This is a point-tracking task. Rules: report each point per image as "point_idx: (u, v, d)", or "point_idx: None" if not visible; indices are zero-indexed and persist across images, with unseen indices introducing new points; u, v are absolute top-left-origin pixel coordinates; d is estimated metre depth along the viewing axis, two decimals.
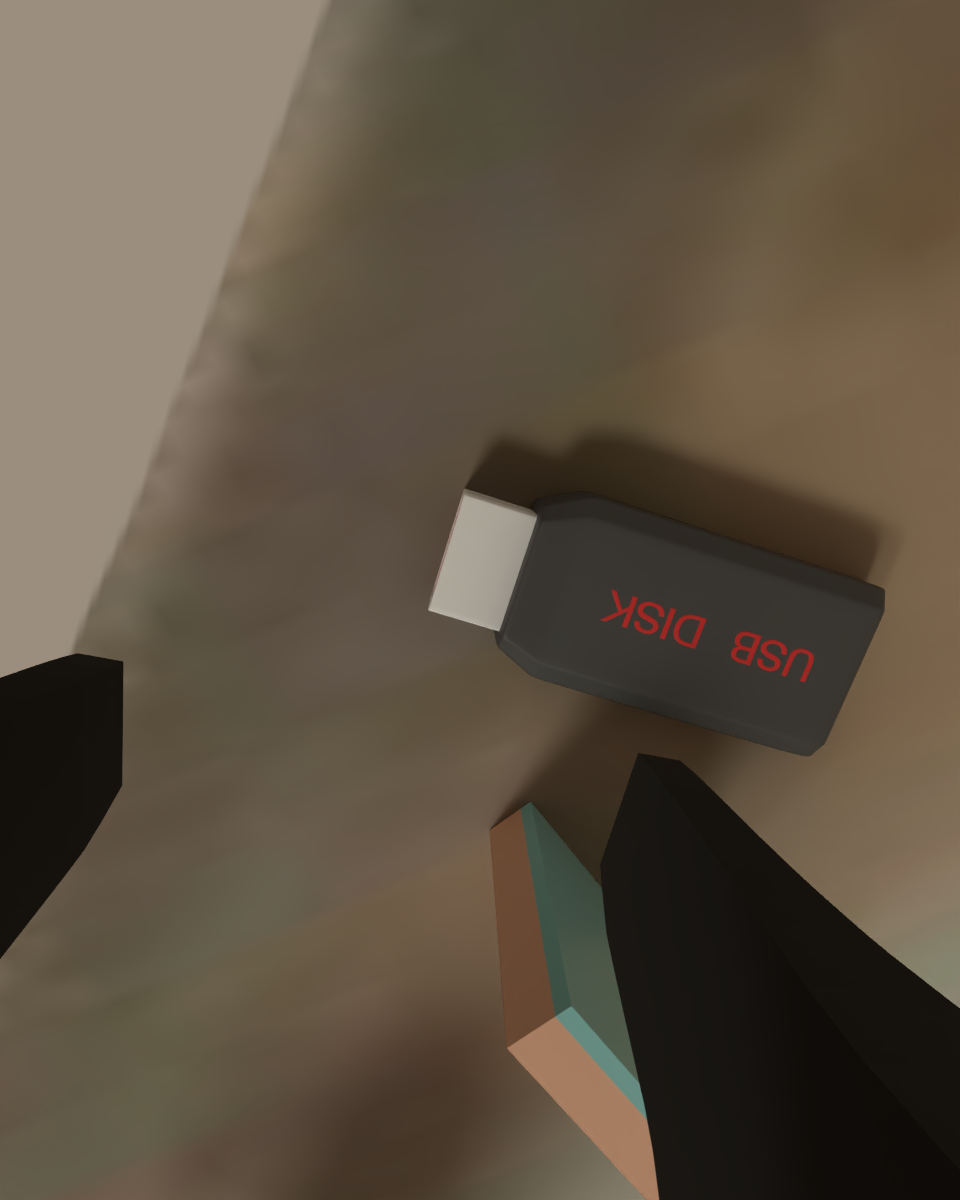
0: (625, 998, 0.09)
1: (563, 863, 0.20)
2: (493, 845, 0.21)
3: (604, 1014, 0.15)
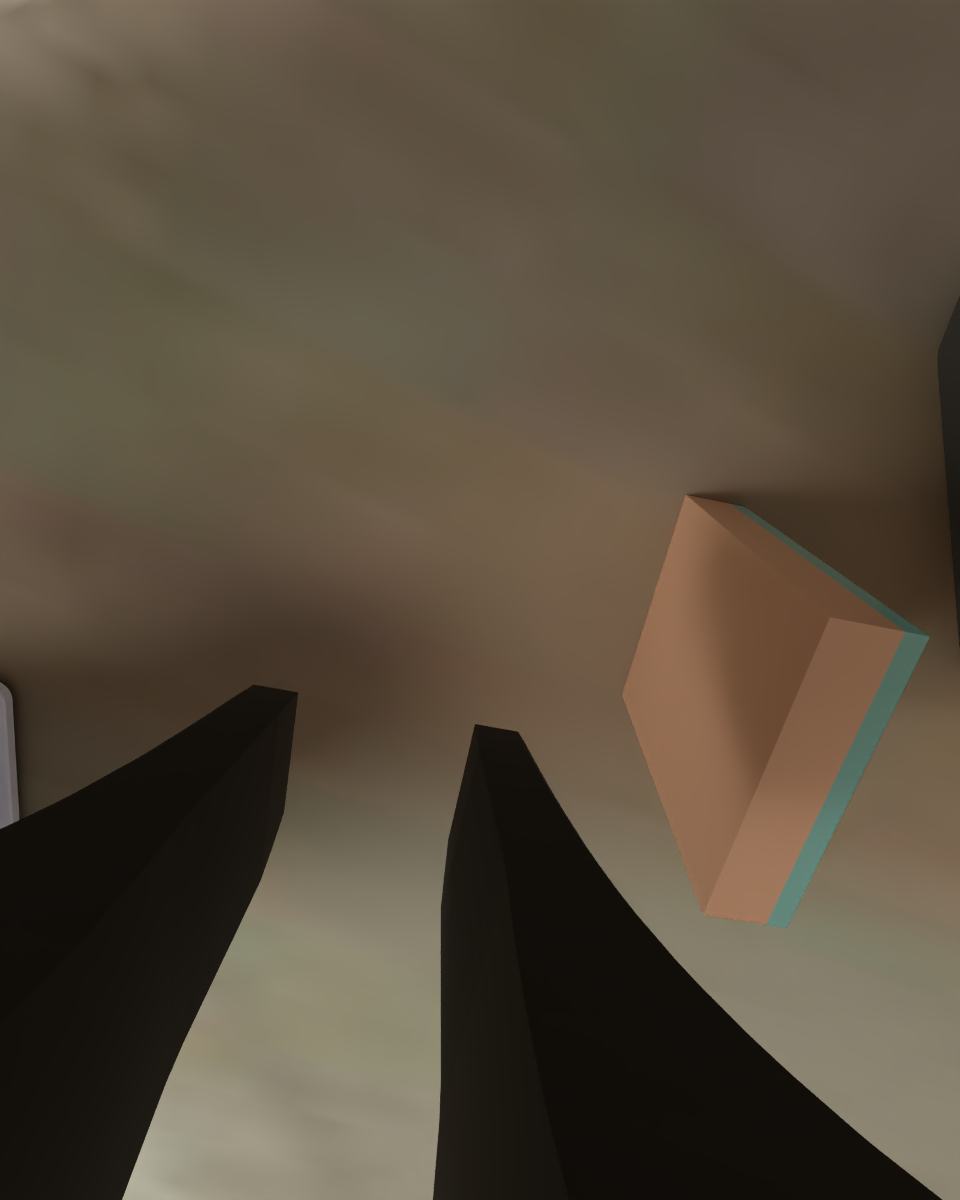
0: (443, 971, 0.08)
1: None
2: (700, 504, 0.17)
3: None
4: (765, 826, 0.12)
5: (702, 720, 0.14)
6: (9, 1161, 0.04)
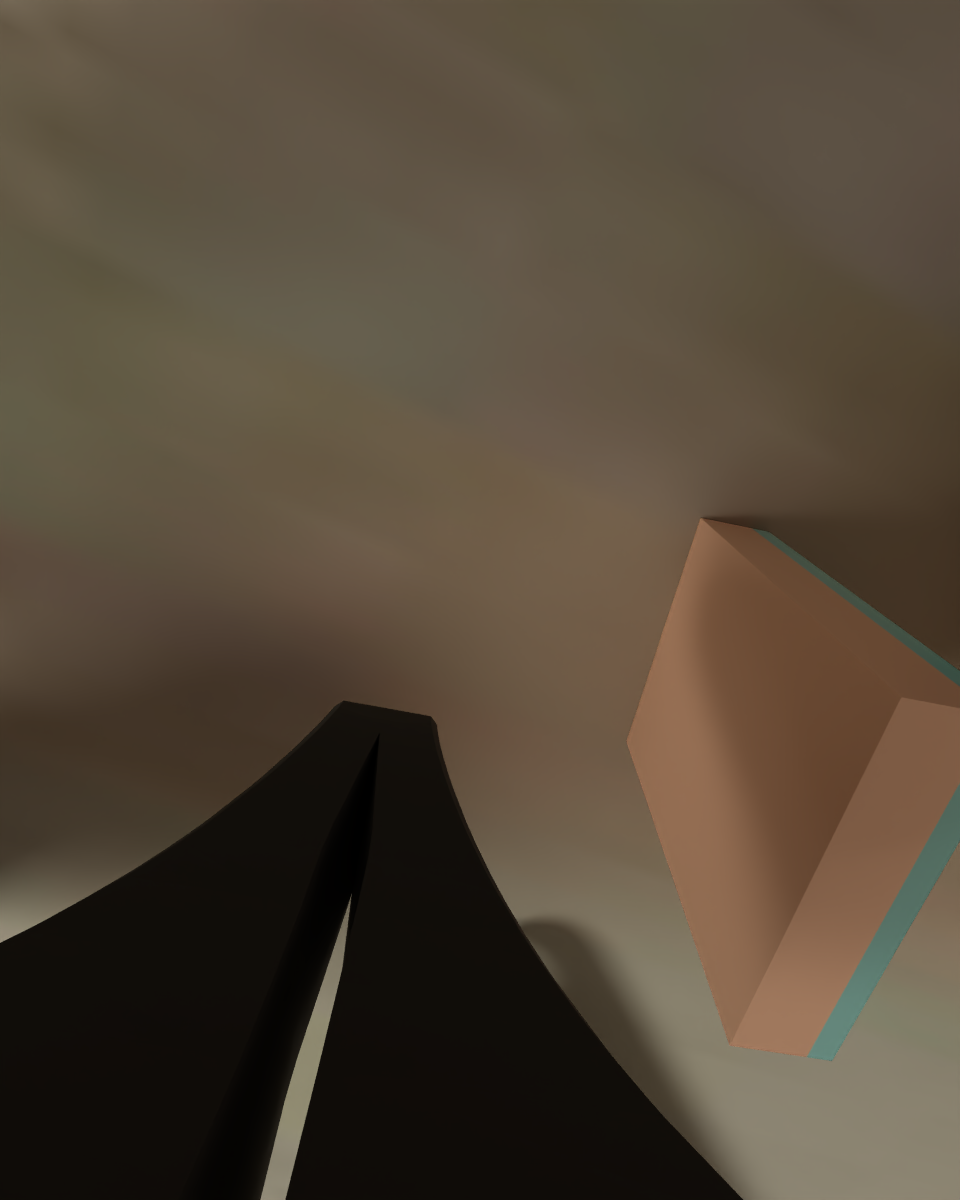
0: (344, 955, 0.08)
1: None
2: (719, 530, 0.15)
3: None
4: (809, 946, 0.09)
5: (724, 795, 0.12)
6: (226, 1189, 0.04)
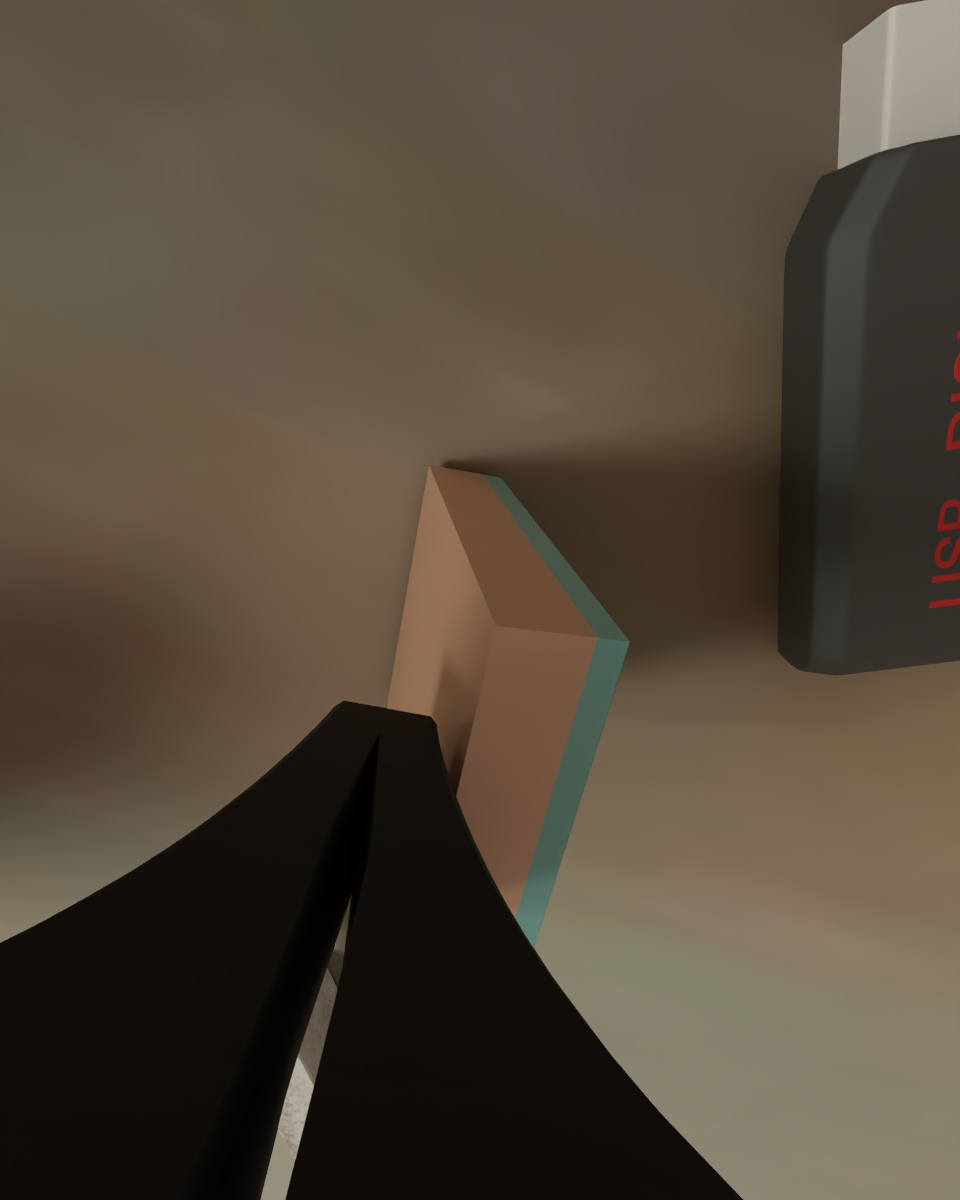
0: (344, 956, 0.08)
1: None
2: (438, 476, 0.14)
3: None
4: None
5: None
6: (226, 1189, 0.04)
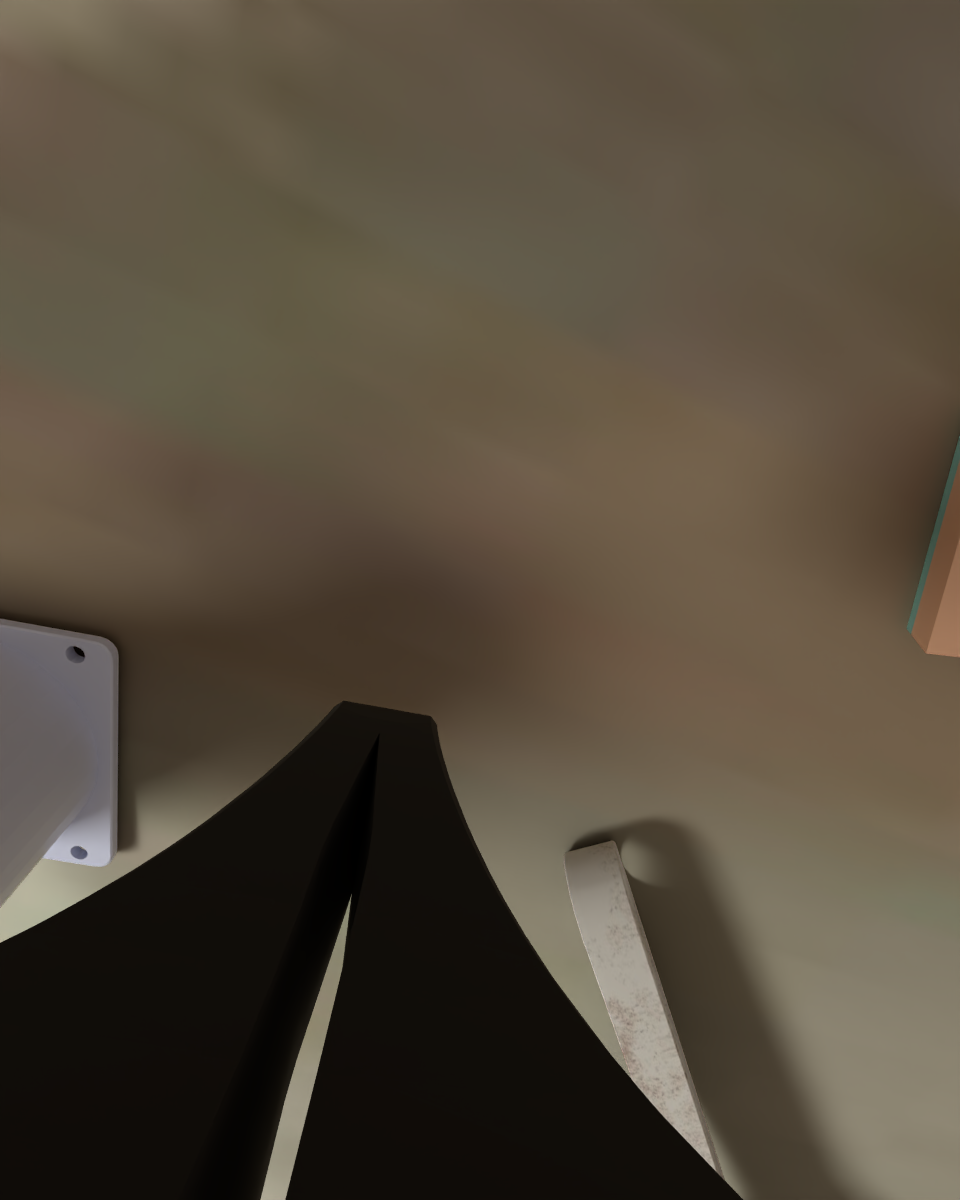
0: (344, 956, 0.08)
1: None
2: None
3: None
4: None
5: None
6: (226, 1189, 0.04)
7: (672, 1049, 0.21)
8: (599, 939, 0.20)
